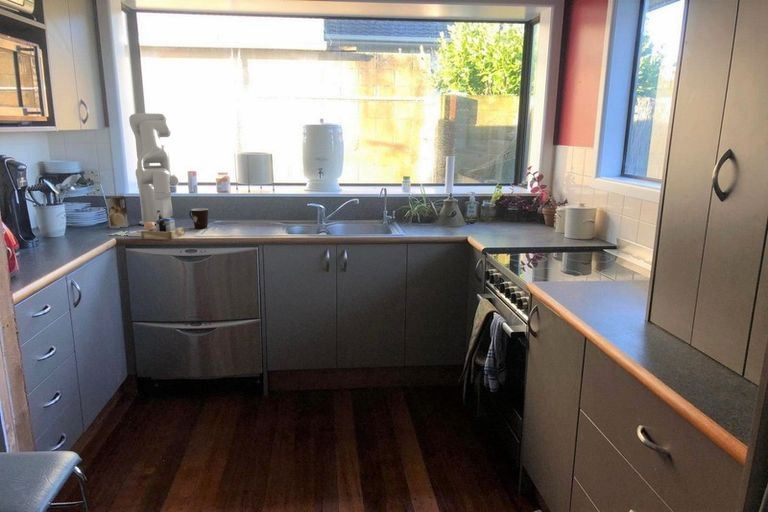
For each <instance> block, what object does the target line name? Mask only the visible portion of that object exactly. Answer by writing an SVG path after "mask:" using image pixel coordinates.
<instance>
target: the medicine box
mask: <svg viewBox="0 0 768 512" xmlns="http://www.w3.org/2000/svg"><path fill="white" fill-rule="evenodd" d="M161 219H162V218H161ZM155 221H156V219H155ZM161 221H162V222H163V220H161ZM175 223H176V222H175V218H174V217H172V218H167V219H165V225H166V232H170V231H172V230H175V229H176V224H175ZM155 227H156V231H157V232H160V230H159V225H158V222H157V221H156V225H155Z"/></svg>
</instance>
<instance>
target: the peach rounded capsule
mask: <svg viewBox="0 0 768 512" xmlns="http://www.w3.org/2000/svg"><path fill="white" fill-rule="evenodd" d="M143 227H144V229H143V230H147V229H150V228H153V227H156V225H155V222H144V225H143Z"/></svg>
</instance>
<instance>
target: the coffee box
mask: <svg viewBox="0 0 768 512" xmlns="http://www.w3.org/2000/svg"><path fill="white" fill-rule="evenodd" d="M104 198H105V205H106V211H107V219H108V220H107V221H108V226H109V228H110V229H111V228H112V229H120V227H122V228H129V227H130V224H129V216H128V207H127V199H126V197H125V196H123V195H122V196H109V197H108V196H106V197H104ZM128 226H129V227H128Z"/></svg>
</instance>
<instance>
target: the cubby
mask: <svg viewBox="0 0 768 512" xmlns="http://www.w3.org/2000/svg"><path fill="white" fill-rule="evenodd" d="M141 231H142V232H141V237H140V238H141V239H142V238H143V239H142V240H169V241H170V240H174V239H176V238H178V236H179V237H181V236H184V235H185V227H183V226H181V227H178V228H175V230H172V231H170V232H157V231H156V226H155V227H153V228H150V229H147V230H145V229H143V230H141ZM183 234H184V235H183Z"/></svg>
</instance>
